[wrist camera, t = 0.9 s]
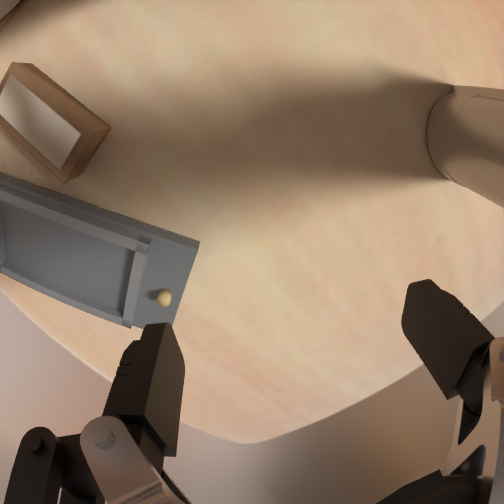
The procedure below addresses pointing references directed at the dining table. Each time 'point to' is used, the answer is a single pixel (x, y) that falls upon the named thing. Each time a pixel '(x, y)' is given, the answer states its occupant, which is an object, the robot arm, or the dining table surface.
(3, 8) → the teacup
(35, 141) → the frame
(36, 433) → the robot arm
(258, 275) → the dining table surface
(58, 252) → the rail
